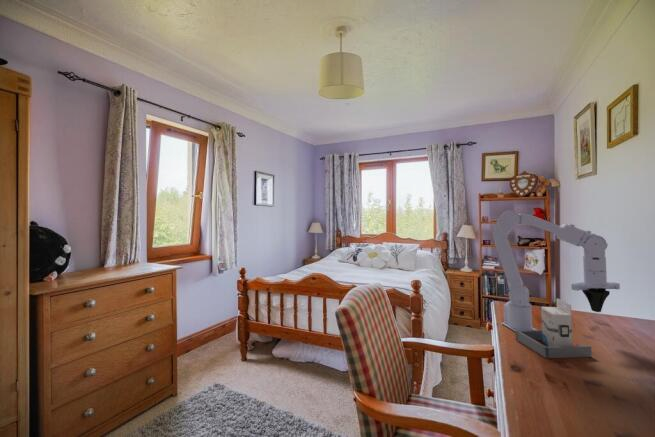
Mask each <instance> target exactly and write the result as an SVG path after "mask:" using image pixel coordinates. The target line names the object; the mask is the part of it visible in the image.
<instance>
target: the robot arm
mask: <svg viewBox="0 0 655 437" xmlns="http://www.w3.org/2000/svg"><path fill="white" fill-rule="evenodd" d="M519 224H520V226H533V227H535V228H538V229H541V230H544V231H547V232H550V233H552V234H554V235H555V237H556V239H557V240H560V241H563V242H566V243H567V244H570V245H573V246H576V247H582V249H583V257H582V259H583V260H582V262H583V264H582V265H583V282H577V283H570V284H571V290H573V291H576V292H577V291H582V293H583V294H584V296H585V298H586V299H587V300H588V301H587V302H588V303H589V306H590V309H591V311H593V312H595V313H601V312H602V310H603V306H604V303H605V301H606V300H607V298H608V297H609V296H610V293H611V292H610V290H620V289H621V286H620V285H621V284H620V283H618V282H608V281H607V280H608V278H607V257H606V250H607V248H608V245H609V244H608V243H607V241H606V239H605V238H604V237H603V236H601V235H597V234H596V233H592V231H591V230H584V229H581V228H579V227H575V224H572V223H569V224H567V223H564V224H561V225H558V224H555V223H553V222H550V221H548V220H545V219H542V218H540V217H537V216H536V215H535V216H534V215H532V214H528V213H524V212H517V211H515V210H513V209H512V210H510V209H509V210H506V211H504V212H502V213H501V214H500V216H499V217H498V218H497V220H496V224H495V226H494V228H493V232H492V238H493V242H494V244H495V248H496V251H497V253H498V257H499V260H500V262H501V267H502V268H503V272H504V274H505V277H506V282H507V287H508V289H509V294H508V299H509V300H508V301H507V302H506V303H504V306H503V322H501V324H502V325H504V326H505V327H507V328H509V329H510V330H512V331H514V332H515V333H516V331H525V330H538V329H537V328H534V327H533V321H532V320H533V319H532V318H533V317H532V315H533V314H532V303H531V302H530V291H529V289H528V287H527V286H525V284H524V281H523V279H522V277H521V274H520V270H519V268H518V266H517V262H516V259H515V257H514V254H513V251H512V247H511V245H510V242H509V239H508V236H509V235H510V233H511V232H512V230H513V229H515V227H517V226H518V225H519Z"/></svg>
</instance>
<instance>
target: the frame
mask: <svg viewBox="0 0 655 437" xmlns="http://www.w3.org/2000/svg"><path fill="white" fill-rule="evenodd" d="M515 340H516V341H518V342H519V343H520V344H522V345H524V346H526V347H527V348H529V349H530V350H532V351H533V352H535V353H537V354H539V355H540V356H542V357H543V358H545V359H562V358H566V359H567V358H568V359H570V358H589V357H590V358H592V355H593V354H592V346H591V345H589V344H587V345H586V344H585V345H583V344H582V345H578V344H577V345H572V346H547V345H546V344H544V343H541V342H539V341H542V329H537V330H525V331H516V332H515Z"/></svg>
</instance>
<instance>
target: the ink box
mask: <svg viewBox="0 0 655 437" xmlns="http://www.w3.org/2000/svg"><path fill="white" fill-rule="evenodd" d="M540 307H541V308H540V309H541V330H542V340H541V341H542V344H544V345H545V346H573V321H572V320H573V318H572V305H571V304H570V303H568V302H566V301H564V300H562V299H560V298H556V306H540Z"/></svg>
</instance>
